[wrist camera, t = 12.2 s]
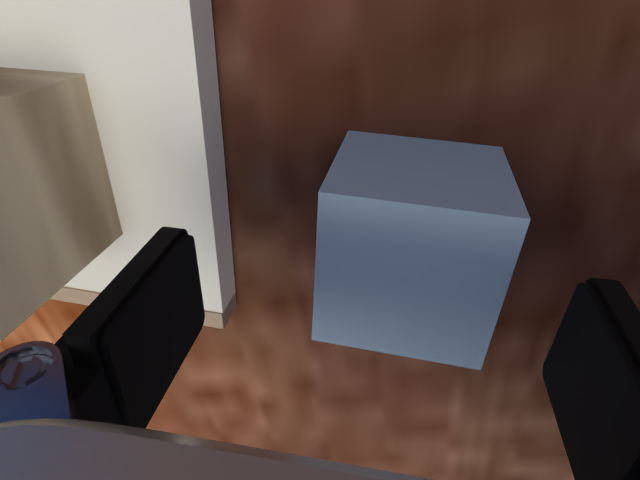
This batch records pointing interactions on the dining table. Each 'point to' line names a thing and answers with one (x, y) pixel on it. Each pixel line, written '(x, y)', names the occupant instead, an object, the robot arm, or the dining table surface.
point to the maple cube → (48, 189)
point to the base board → (142, 124)
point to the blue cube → (415, 247)
